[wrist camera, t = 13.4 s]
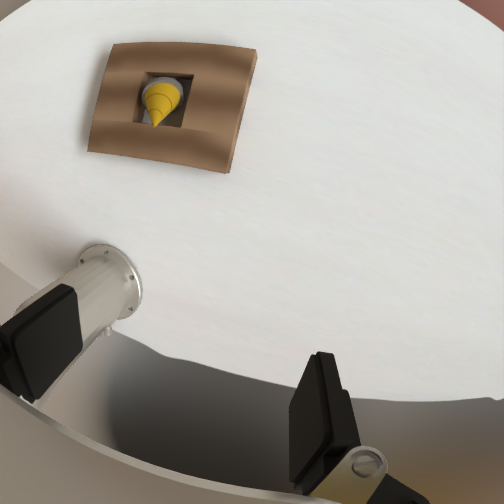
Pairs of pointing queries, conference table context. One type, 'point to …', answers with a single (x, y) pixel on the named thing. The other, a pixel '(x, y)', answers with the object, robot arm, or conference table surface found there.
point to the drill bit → (162, 98)
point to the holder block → (197, 109)
